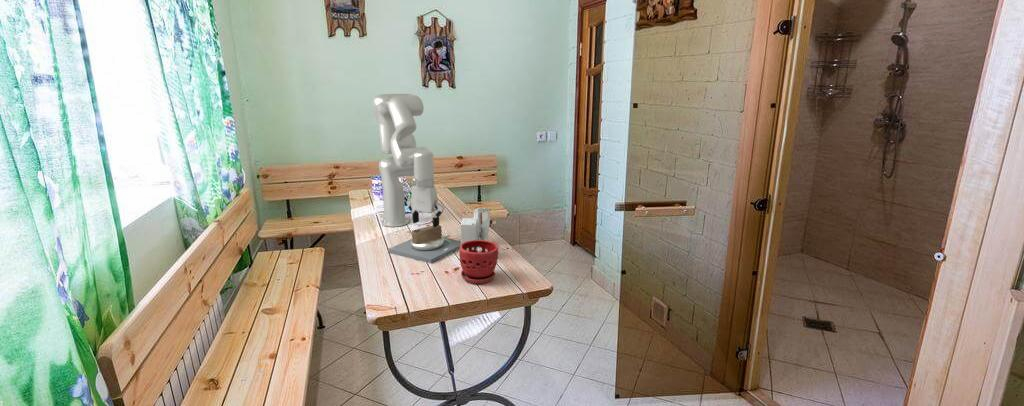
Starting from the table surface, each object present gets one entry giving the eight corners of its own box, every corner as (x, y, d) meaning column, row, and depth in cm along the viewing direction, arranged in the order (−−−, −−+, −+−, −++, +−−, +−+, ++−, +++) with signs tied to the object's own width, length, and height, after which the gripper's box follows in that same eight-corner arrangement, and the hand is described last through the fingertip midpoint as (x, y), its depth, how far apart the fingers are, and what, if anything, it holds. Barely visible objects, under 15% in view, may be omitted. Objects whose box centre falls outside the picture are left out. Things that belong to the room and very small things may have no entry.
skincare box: (463, 253, 184) (462, 217, 180) (478, 253, 184) (477, 217, 180) (460, 261, 176) (459, 223, 172) (476, 261, 176) (476, 224, 172)
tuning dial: (423, 253, 180) (422, 235, 178) (404, 244, 189) (403, 228, 187) (459, 242, 192) (458, 225, 190) (440, 234, 201) (439, 219, 199)
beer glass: (487, 248, 190) (487, 212, 186) (471, 247, 191) (470, 211, 187) (491, 242, 196) (491, 208, 192) (475, 241, 198) (475, 207, 194)
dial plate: (387, 252, 185) (387, 248, 185) (424, 236, 204) (424, 233, 203) (431, 263, 175) (431, 259, 174) (466, 245, 193) (466, 241, 192)
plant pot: (467, 289, 153) (466, 254, 150) (455, 274, 165) (454, 242, 162) (504, 282, 158) (504, 249, 155) (490, 268, 170) (489, 237, 167)
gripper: (400, 182, 183) (402, 223, 187) (437, 187, 175) (438, 230, 180) (412, 178, 189) (413, 218, 194) (448, 183, 182) (449, 225, 187)
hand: (425, 224), depth 187 cm, fingers open, 9 cm apart
